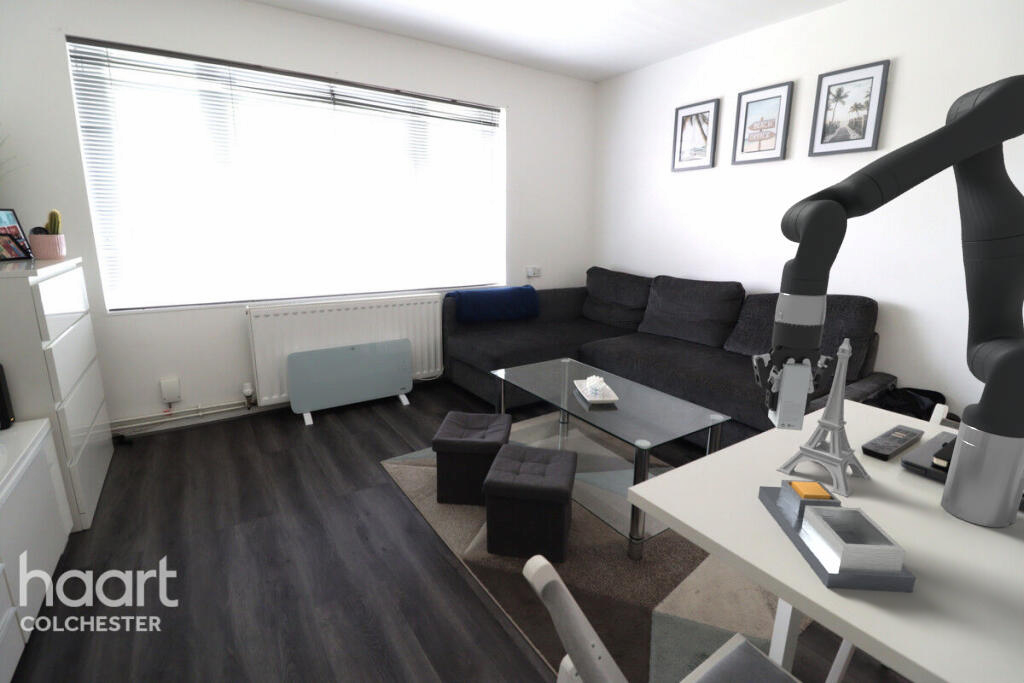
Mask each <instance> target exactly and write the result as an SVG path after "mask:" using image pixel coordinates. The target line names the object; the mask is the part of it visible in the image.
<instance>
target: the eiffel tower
mask: <svg viewBox="0 0 1024 683" xmlns="http://www.w3.org/2000/svg"><path fill="white" fill-rule="evenodd" d="M852 350H853V349H852V346H851V344H850V338H844V339H843V342H842V343H841V345H840V346H839V347H838V351H837V353H836V355H837V358H838V359H837V363H836V368H835V373H834V377H833V381H832V384H831V389H830V392H829V395H828V398H827V401H826V405H825V408H824V410H823V413H822V416H821V418H819V419H818V420H817V423H818V424H817V427H816V428H815V430H814V431H813V433H812V434H811V436H810V437H809V439H807V441H805V442H803V443H802V444H801V445H799V447H798V448H799V450H798V451H797V452H796V453H795V454H794V455H792V456H791V457H790V458H789V459H787V461H785V462H784V463H783V464H782V465H781V466H779V467H778V468H776V471H777V472H779V473H782V474H784V475H787V476H791V475H792V474H794V473H795V472H796V470H795V469H796V467H797V466H798V465H799V464H800V463H803V462H804V463H805V462H815V463H818V464H821V465H823V467H825V468H826V469H827V470H828V472H829V473H830V475H831V478H832V481H833V484H832V485H833V486H832V487H833V488H832V489H831V491H830V492H831V493H833V494H837V495H839V496H841V497H844V498H848V497H849V496H850V495H851V494H852V491H851V489H850V487H849V481H848V476H847V473H848V472H847V471H848V466H849V468H850V469H851V474H850V476H852V477H855V478H857V479H859V480H860V479H861V480H864V481H867V480H868V479H869V478H870V477H871V475H869V473H868V472H867V470H866V469H865V467H864V466H863V465H862V463H861V462H860V460H859V459H858V457H857V455H855V452H856V449H855V448H851V445H850V442H849V440H848V435H847V433H846V429H845V425H846V424H847V421H846V420H845V418H844V416H845V415H844V414H845V412H844V410H845V389H846V382H847V381H846V379H847V371H848V363H849V358H850V357H851V356H852V354H853V353H852ZM829 433H830V436H829ZM828 436H829V440H827V437H828Z"/></svg>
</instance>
